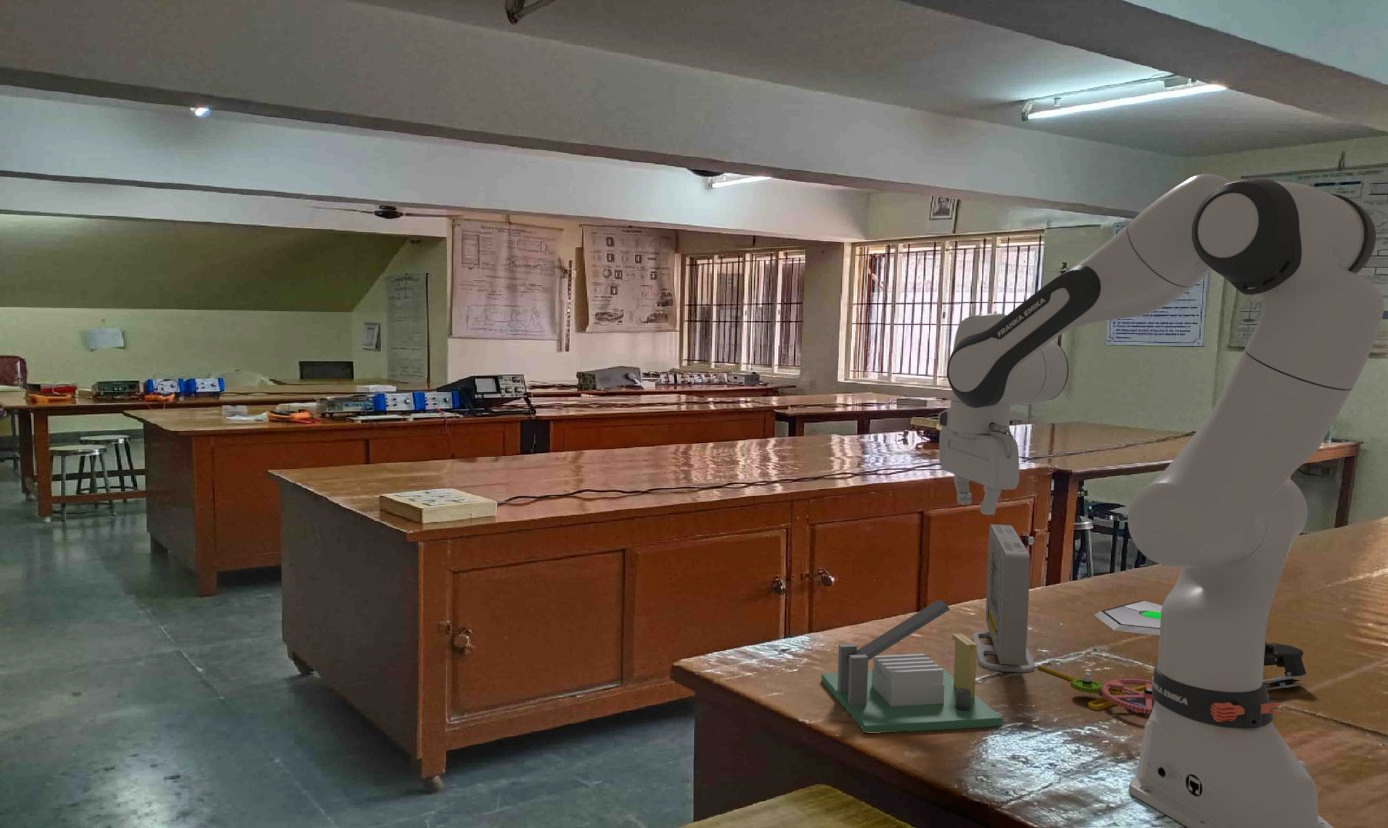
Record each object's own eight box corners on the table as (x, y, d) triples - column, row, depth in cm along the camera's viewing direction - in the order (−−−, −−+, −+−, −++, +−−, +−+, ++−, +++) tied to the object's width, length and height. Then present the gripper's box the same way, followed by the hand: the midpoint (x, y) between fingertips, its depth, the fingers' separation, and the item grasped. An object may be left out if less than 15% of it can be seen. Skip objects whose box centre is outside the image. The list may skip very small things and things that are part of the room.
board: (1002, 725, 134) (1004, 661, 133) (865, 733, 131) (867, 668, 130) (941, 674, 154) (943, 618, 153) (821, 680, 151) (822, 623, 150)
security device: (1069, 622, 185) (1070, 612, 185) (1134, 605, 197) (1135, 595, 197) (1155, 648, 171) (1155, 637, 171) (1218, 627, 184) (1219, 617, 183)
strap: (950, 610, 141) (947, 604, 140) (855, 669, 139) (852, 664, 139) (941, 604, 144) (938, 598, 144) (848, 662, 142) (844, 656, 142)
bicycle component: (1257, 692, 143) (1322, 683, 149) (1244, 643, 145) (1309, 635, 151) (1189, 696, 153) (1253, 687, 159) (1178, 650, 155) (1241, 643, 161)
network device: (1040, 680, 152) (1045, 556, 150) (982, 676, 154) (987, 553, 152) (1019, 631, 177) (1023, 524, 175) (969, 628, 179) (973, 521, 177)
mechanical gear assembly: (1191, 749, 128) (1249, 729, 137) (1194, 718, 128) (1252, 700, 136) (1007, 679, 153) (1066, 665, 162) (1009, 653, 153) (1067, 641, 161)
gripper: (1033, 427, 138) (1028, 522, 139) (969, 413, 158) (966, 496, 159) (991, 427, 137) (987, 522, 138) (933, 413, 157) (930, 497, 158)
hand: (975, 508), depth 149 cm, fingers open, 7 cm apart
